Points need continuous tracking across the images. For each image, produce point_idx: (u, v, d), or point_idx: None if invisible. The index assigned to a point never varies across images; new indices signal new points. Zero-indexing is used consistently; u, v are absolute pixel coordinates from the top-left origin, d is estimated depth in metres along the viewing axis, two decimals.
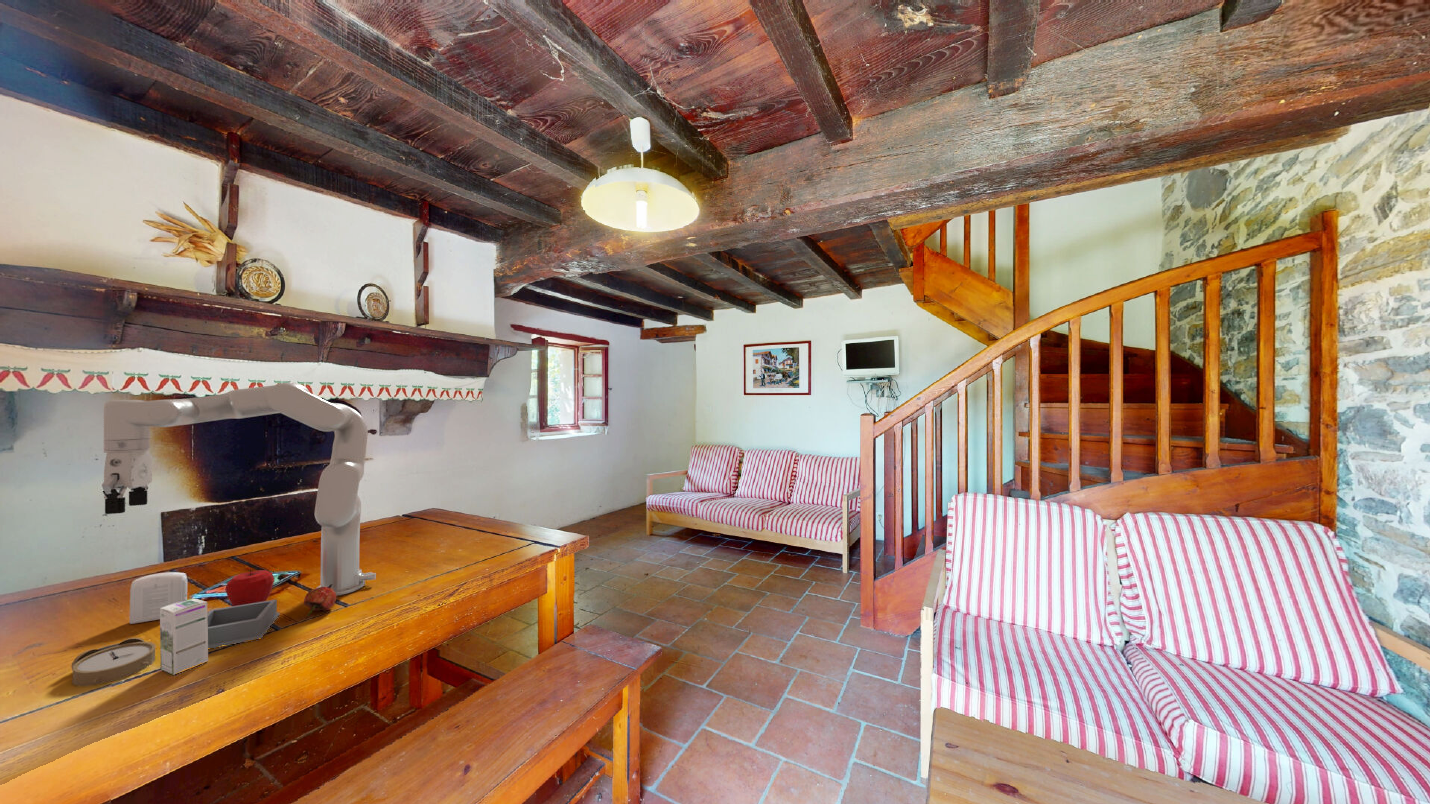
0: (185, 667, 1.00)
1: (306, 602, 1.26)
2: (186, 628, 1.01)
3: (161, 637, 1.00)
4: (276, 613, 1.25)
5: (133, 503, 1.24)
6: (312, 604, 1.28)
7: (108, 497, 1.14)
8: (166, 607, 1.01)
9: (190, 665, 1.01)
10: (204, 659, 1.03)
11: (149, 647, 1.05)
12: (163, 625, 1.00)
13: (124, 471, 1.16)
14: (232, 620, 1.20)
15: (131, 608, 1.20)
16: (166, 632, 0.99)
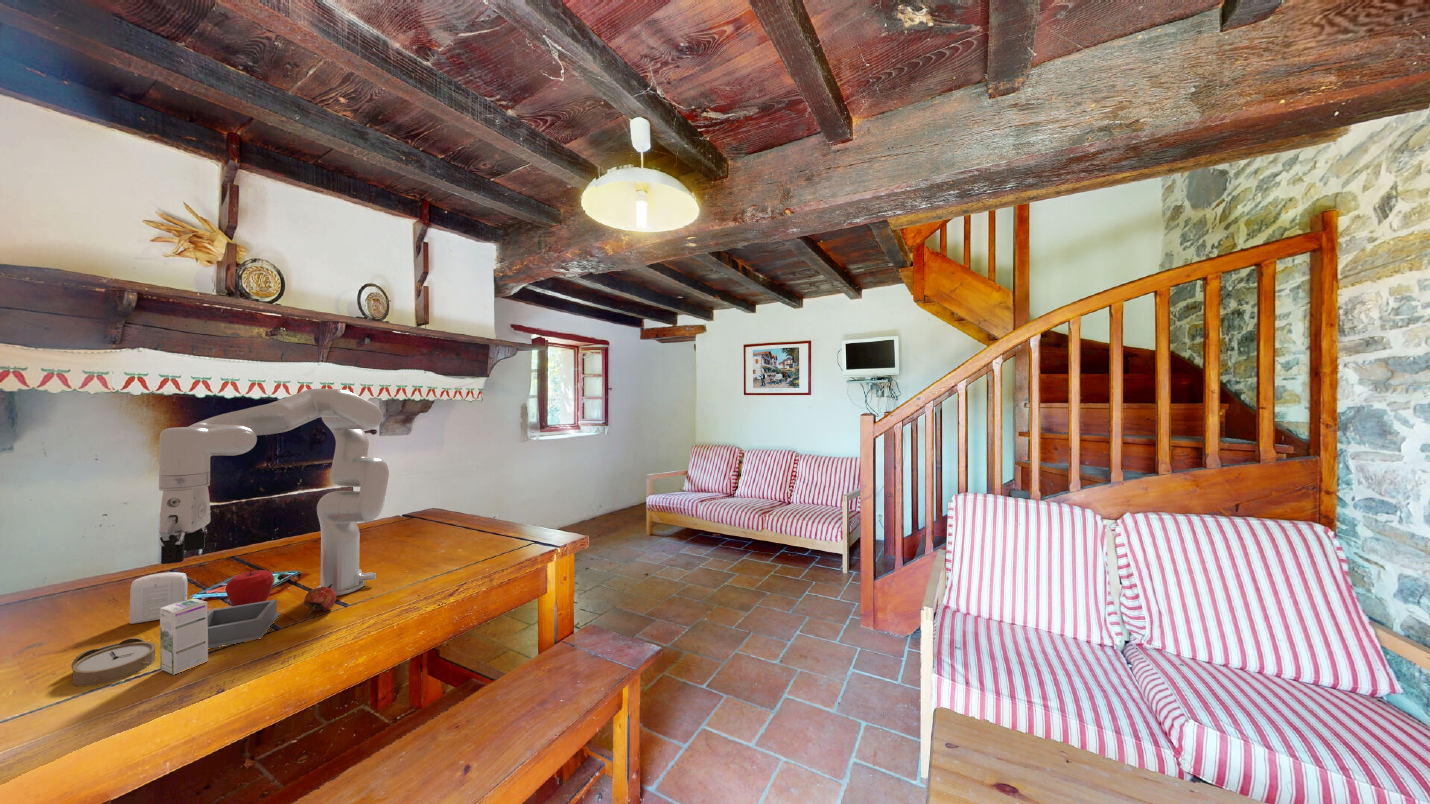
0: (185, 667, 1.00)
1: (306, 602, 1.26)
2: (186, 628, 1.01)
3: (161, 637, 1.00)
4: (276, 613, 1.25)
5: (189, 547, 1.05)
6: (312, 604, 1.28)
7: (165, 544, 0.96)
8: (166, 607, 1.01)
9: (190, 665, 1.01)
10: (204, 659, 1.03)
11: (149, 647, 1.05)
12: (163, 625, 1.00)
13: (183, 512, 0.98)
14: (232, 620, 1.20)
15: (131, 608, 1.20)
16: (166, 632, 0.99)
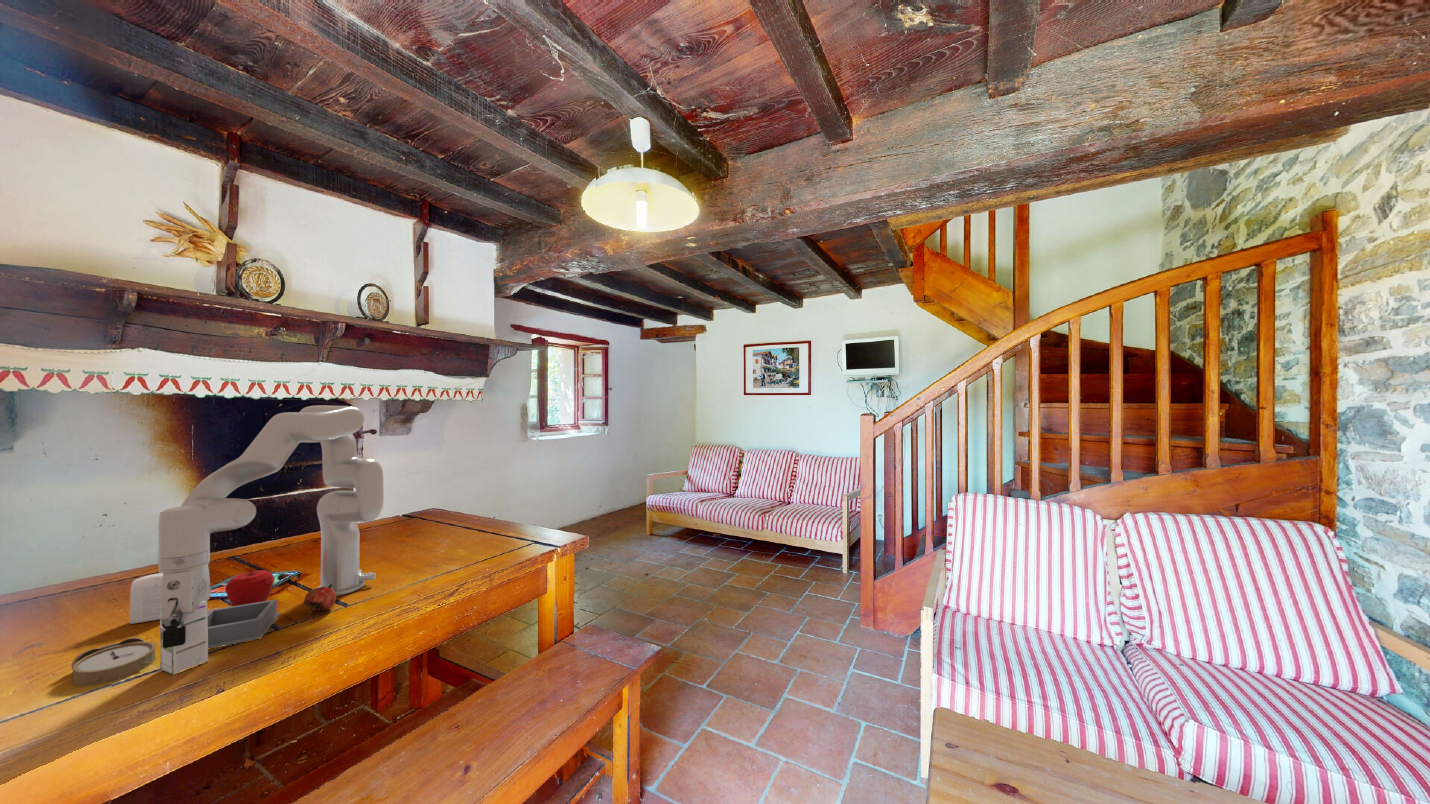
0: (185, 667, 1.00)
1: (306, 602, 1.26)
2: (186, 628, 1.01)
3: (161, 637, 1.00)
4: (276, 613, 1.25)
5: None
6: (312, 604, 1.28)
7: (167, 629, 0.97)
8: None
9: (190, 665, 1.01)
10: (204, 659, 1.03)
11: (149, 647, 1.05)
12: None
13: (183, 595, 0.99)
14: (232, 620, 1.20)
15: (131, 608, 1.20)
16: None
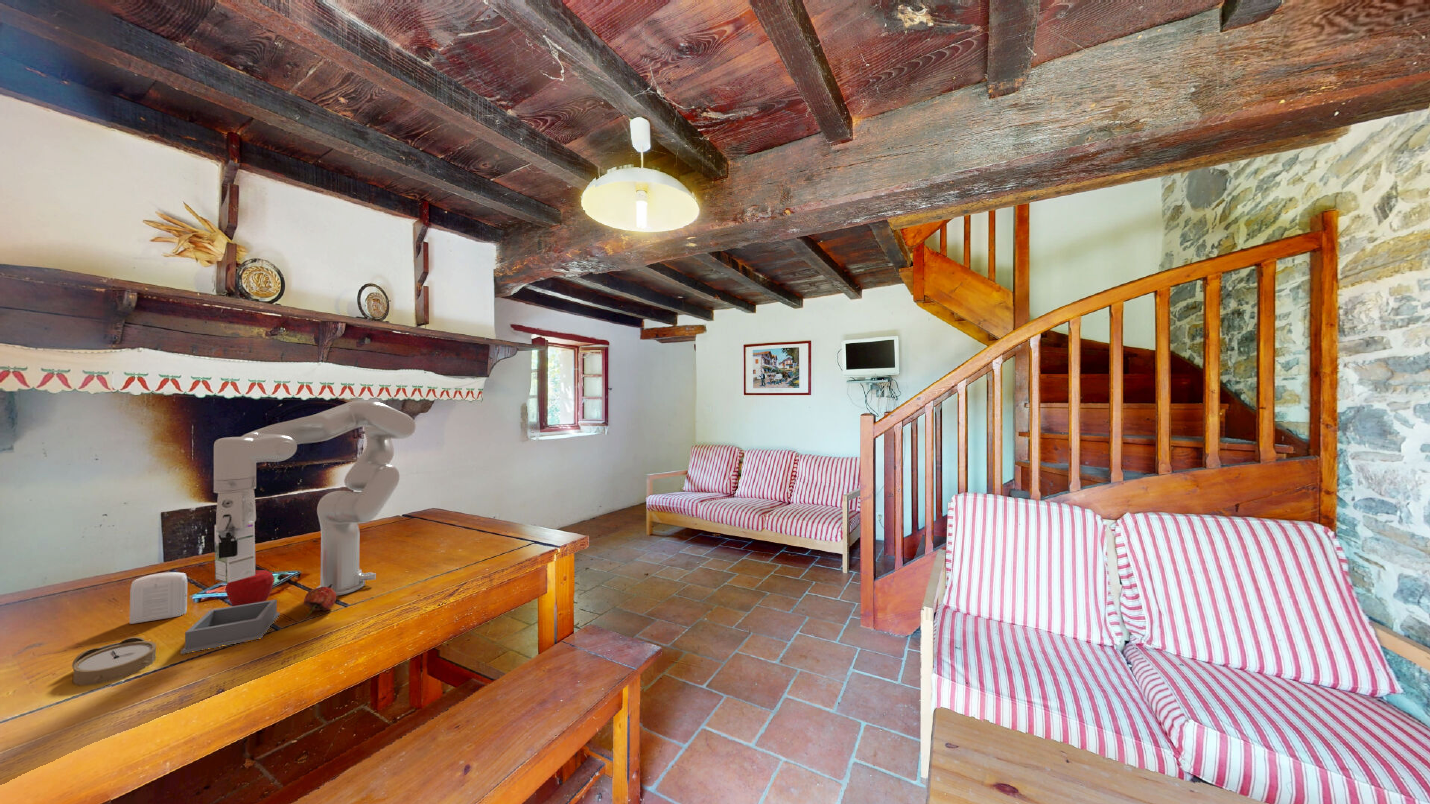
0: (236, 577, 1.15)
1: (306, 602, 1.26)
2: None
3: (215, 550, 1.14)
4: (276, 613, 1.25)
5: None
6: (312, 604, 1.28)
7: (222, 541, 1.11)
8: None
9: (241, 575, 1.15)
10: (252, 572, 1.17)
11: (150, 646, 1.05)
12: (217, 539, 1.14)
13: (236, 512, 1.13)
14: (232, 620, 1.20)
15: (131, 608, 1.20)
16: None
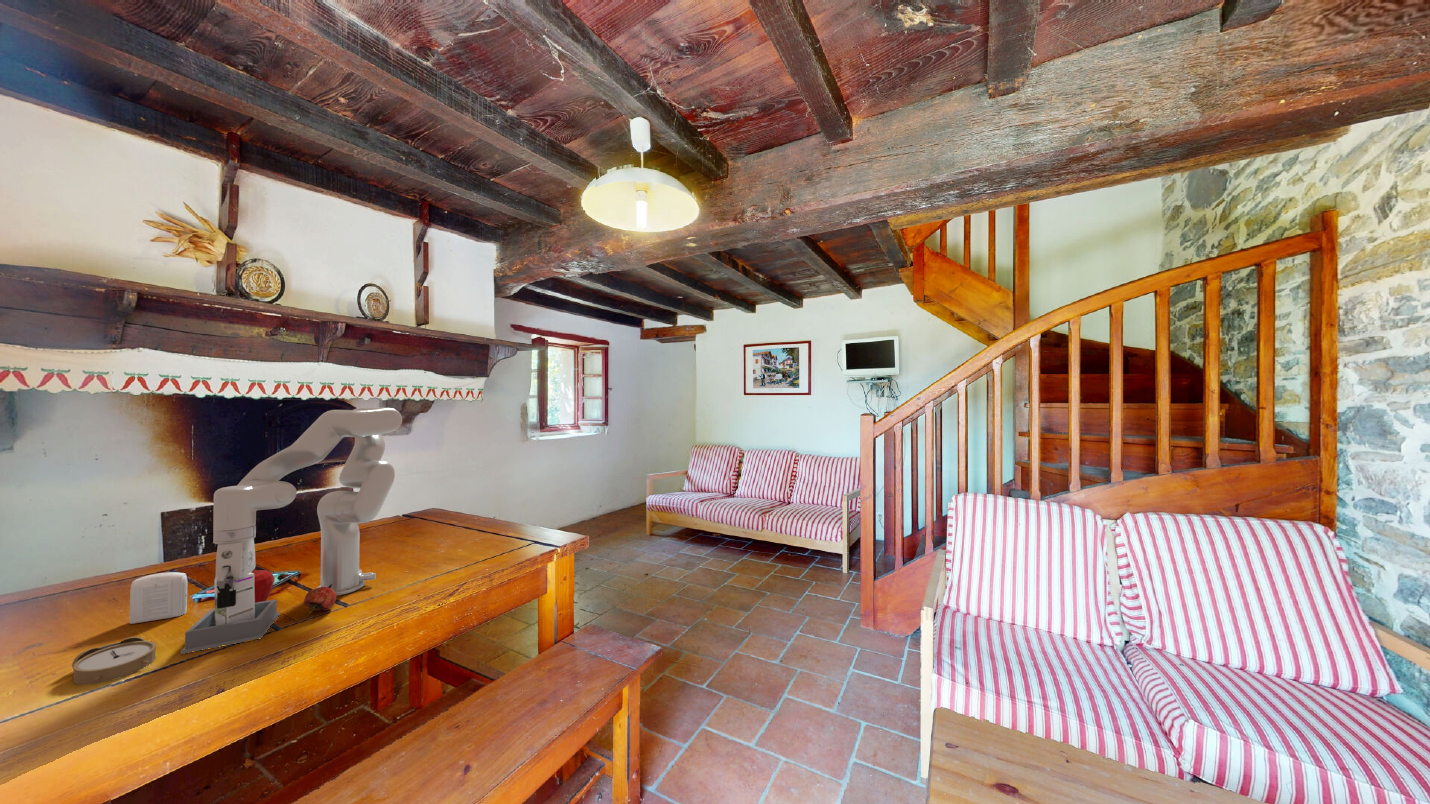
0: None
1: (306, 602, 1.26)
2: (237, 596, 1.15)
3: (215, 603, 1.14)
4: (276, 613, 1.25)
5: None
6: (312, 604, 1.28)
7: (221, 591, 1.11)
8: None
9: None
10: None
11: (149, 646, 1.05)
12: None
13: (235, 563, 1.13)
14: None
15: (131, 608, 1.20)
16: None
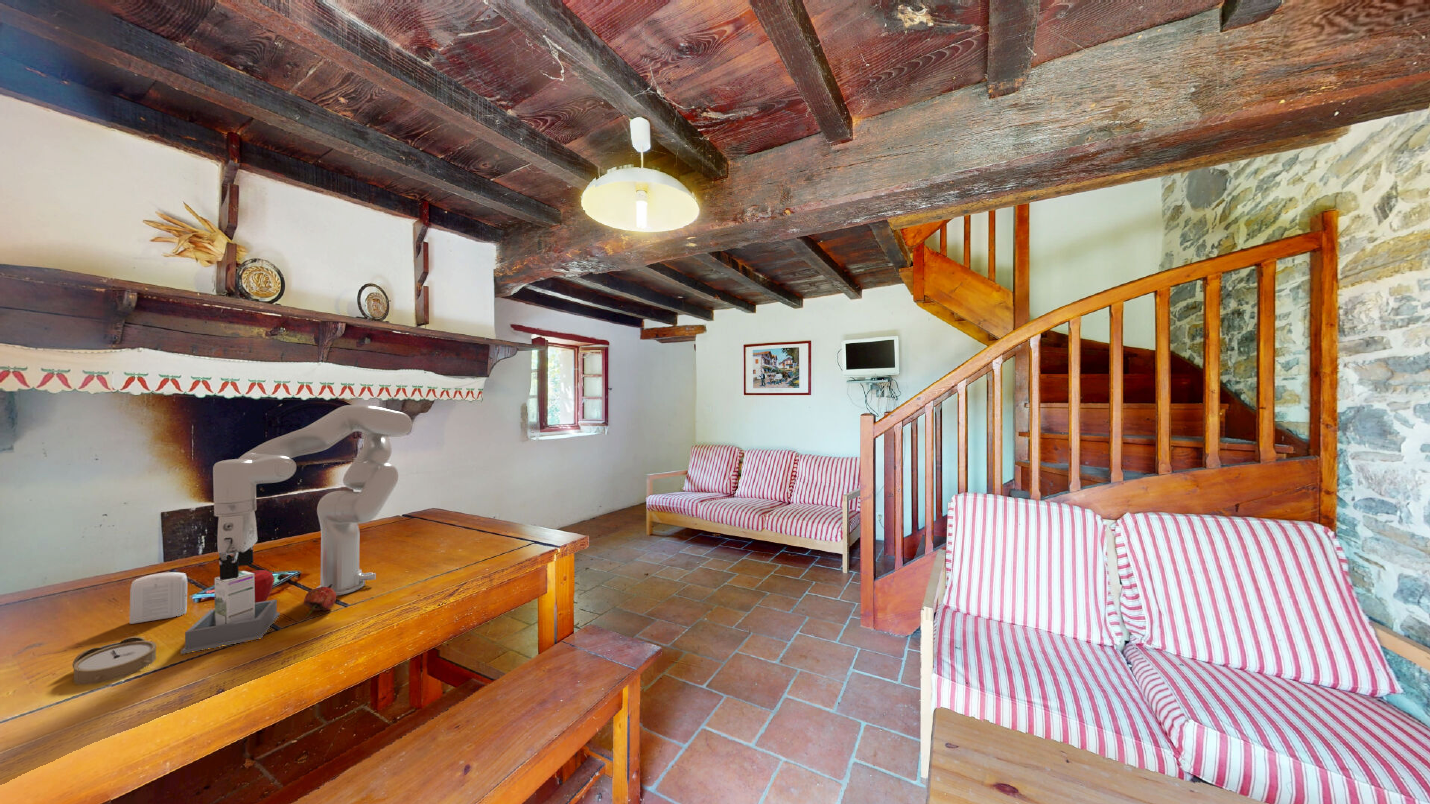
0: None
1: (306, 602, 1.26)
2: (237, 596, 1.15)
3: (215, 603, 1.14)
4: (276, 613, 1.25)
5: (240, 563, 1.20)
6: (312, 604, 1.28)
7: (223, 563, 1.11)
8: None
9: None
10: None
11: (150, 646, 1.05)
12: (217, 593, 1.14)
13: (237, 535, 1.13)
14: None
15: (131, 608, 1.20)
16: (220, 599, 1.13)
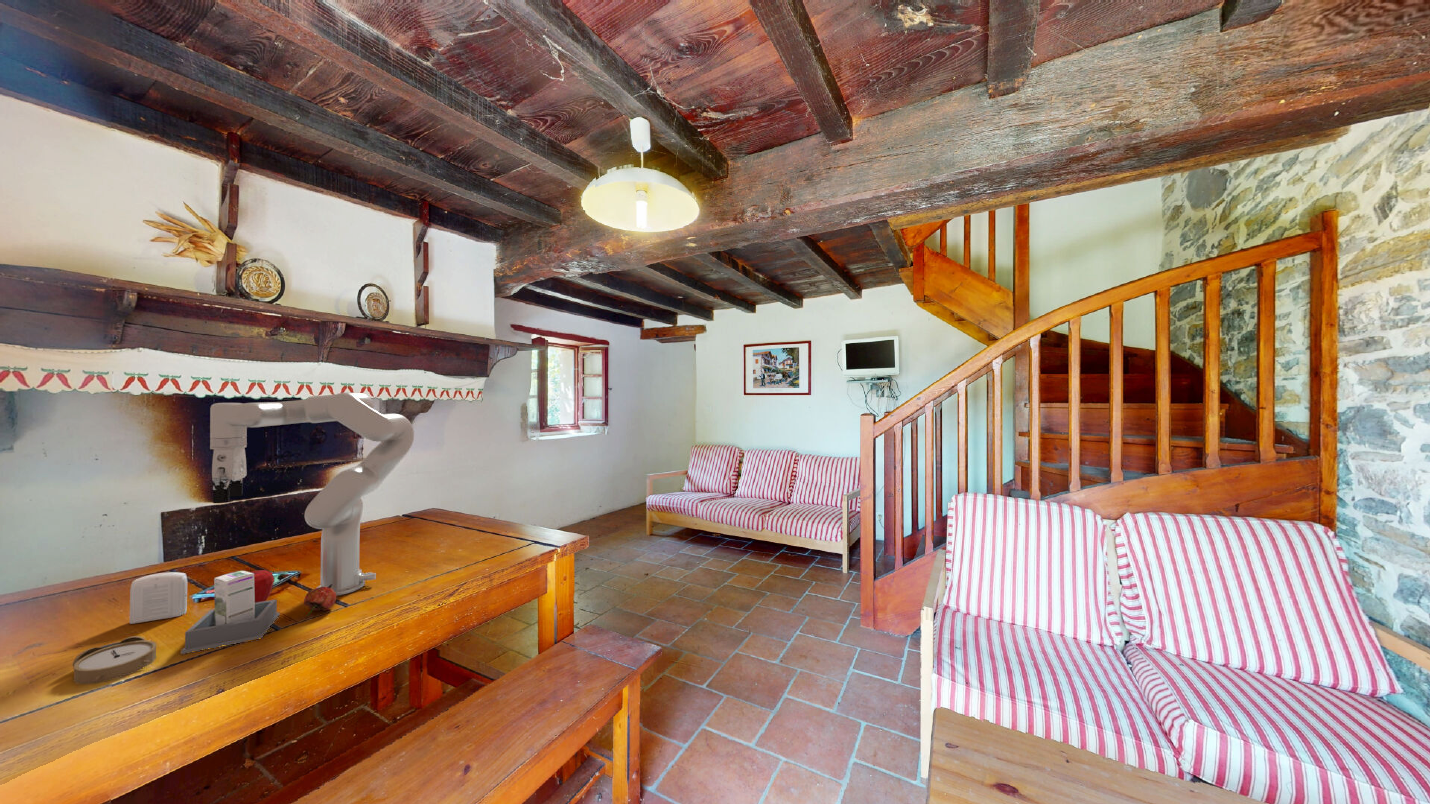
0: None
1: (306, 602, 1.26)
2: (237, 596, 1.15)
3: (215, 603, 1.14)
4: (276, 613, 1.25)
5: (231, 494, 1.39)
6: (312, 604, 1.28)
7: (216, 488, 1.30)
8: (219, 577, 1.15)
9: None
10: None
11: (150, 645, 1.05)
12: (217, 593, 1.14)
13: (229, 465, 1.32)
14: None
15: (131, 608, 1.20)
16: (220, 599, 1.13)
